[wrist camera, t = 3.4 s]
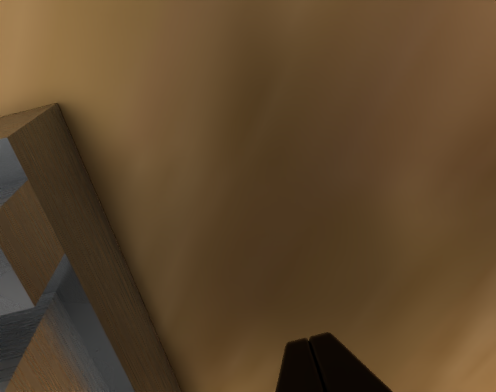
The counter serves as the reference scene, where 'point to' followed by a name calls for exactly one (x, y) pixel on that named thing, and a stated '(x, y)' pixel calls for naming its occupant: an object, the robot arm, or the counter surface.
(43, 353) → the grey cube
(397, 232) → the counter surface
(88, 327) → the slot board
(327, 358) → the robot arm
